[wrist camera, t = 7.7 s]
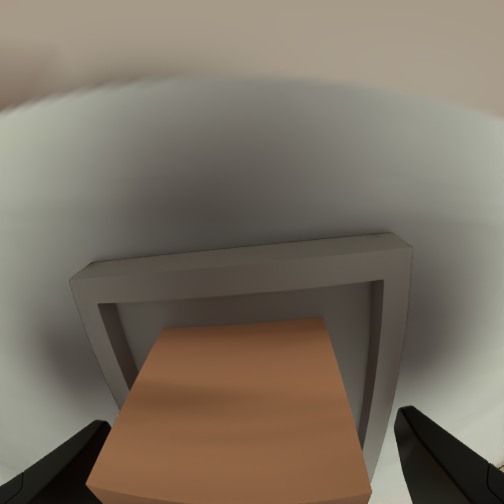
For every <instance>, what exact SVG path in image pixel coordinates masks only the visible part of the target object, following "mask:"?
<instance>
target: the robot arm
mask: <svg viewBox="0 0 504 504" xmlns="http://www.w3.org/2000/svg"><path fill="white" fill-rule="evenodd" d="M111 429H112V428H111V426H110V425H109V423H108V422H107V421H103V420H95V421H93V422H92V423H90V424H89V425H88V426H86V427H85V428H84V429H82V430H81V431H79V432H78V433H77V434H75V435H74V436H73V437H71V438H70V439H68V440H67V441H66V442H64V443H63V444H62V445H60V446H59V447H57V448H56V449H55V450H53V451H52V452H50V453H49V454H48V455H46V456H45V457H43V458H42V459H41V460H39V461H38V462H36V463H35V464H33V465H32V466H31V467H29V468H28V469H26V470H25V471H24V472H22V473H20V474H19V475H17V476H16V477H14V478H13V479H11V480H10V481H8V482H7V483H5V484H3V485H1V486H0V504H103V503H102V502H101V501H100V500H99V499H98V498H97V497H96V496H95V495H94V493H93V492H92V491H91V490H90V489H89V488H88V487H87V486H86V482H87V480H88V478H89V476H90V473H91V471H92V469H93V467H94V465H95V462H96V460H97V458H98V456H99V454H100V452H101V450H102V448H103V445H104V443H105V441H106V439H107V437H108V435H109V433H110V431H111ZM394 433H395V438H396V442H397V447H398V452H399V457H400V462H401V467H402V471H403V475H404V478H405V481H406V484H407V487H408V490H409V494H410V497H411V500H412V503H413V504H504V472H503V471H501V470H500V469H498V468H497V467H495V466H494V465H492V464H491V463H489V462H488V461H487V460H485V459H484V458H483V457H481V456H480V455H478V454H477V453H476V452H474V451H473V450H472V449H470V448H469V447H467V446H466V445H465V444H463V443H462V442H461V441H459V440H458V439H457V438H455V437H454V436H453V435H451V434H450V433H448V432H447V431H446V430H444V429H443V428H442V427H440V426H439V425H438V424H436V423H435V422H434V421H432V420H431V419H430V418H428V417H427V416H426V415H424V414H423V413H422V412H420V411H419V410H418V409H416V408H415V407H414V406H411V405H410V406H405V407H401V408H399V410H398V412H397V416H396V420H395V424H394Z"/></svg>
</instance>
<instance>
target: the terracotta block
mask: <svg viewBox="0 0 504 504" xmlns="http://www.w3.org/2000/svg"><path fill="white" fill-rule="evenodd" d="M86 486H87V487H88V488H89V489H90V490H91V491H92V492H93V493H94V495H95V496H96V497H97V498H98V499H99V500H100V501H101V502H102V503H103V504H368V502H369V499H370V497H371V494H372V490H371V485H370V481H369V477H368V473H367V469H366V465H365V461H364V457H363V453H362V450H361V446H360V442H359V438H358V434H357V431H356V427H355V423H354V420H353V416H352V412H351V409H350V405H349V402H348V398H347V395H346V391H345V388H344V384H343V381H342V377H341V374H340V371H339V367H338V364H337V361H336V357H335V354H334V351H333V347H332V344H331V341H330V338H329V334H328V331H327V328H326V325H325V322H324V318H323V317H318V318H309V319H299V320H289V321H278V322H266V323H253V324H239V325H223V326H205V327H183V328H162V330H161V332H160V334H159V336H158V338H157V340H156V342H155V343H154V345H153V347H152V349H151V351H150V353H149V355H148V357H147V359H146V361H145V363H144V365H143V367H142V368H141V370H140V372H139V374H138V376H137V378H136V380H135V382H134V384H133V386H132V388H131V390H130V392H129V394H128V396H127V398H126V400H125V402H124V404H123V406H122V408H121V410H120V412H119V414H118V416H117V418H116V420H115V422H114V425H113V427H112V429H111V431H110V433H109V435H108V437H107V439H106V441H105V443H104V445H103V448H102V450H101V452H100V454H99V456H98V458H97V460H96V462H95V465H94V467H93V469H92V471H91V473H90V476H89V478H88V480H87V482H86Z"/></svg>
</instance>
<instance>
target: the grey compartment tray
mask: <svg viewBox="0 0 504 504" xmlns="http://www.w3.org/2000/svg"><path fill="white" fill-rule="evenodd" d="M411 267H412V247H411V246H410V245H409V244H407V243H406V242H405V241H403V240H402V239H401V238H399V237H398V236H396V235H395V234H394V233H381V234H370V235H360V236H349V237H339V238H328V239H318V240H308V241H298V242H287V243H277V244H267V245H257V246H247V247H237V248H227V249H217V250H207V251H198V252H188V253H178V254H168V255H159V256H149V257H140V258H130V259H121V260H111V261H102V262H93V263H90V264H89V265H87V266H86V267H85V268H83V269H82V270H81V271H79V272H78V273H77V274H76V275H74V276H73V277H72V278H70V279H69V283H70V286H71V290H72V293H73V296H74V299H75V302H76V305H77V308H78V311H79V314H80V317H81V320H82V323H83V325H84V328H85V331H86V334H87V336H88V339H89V341H90V344H91V347H92V349H93V352H94V354H95V357H96V359H97V361H98V364H99V366H100V368H101V371H102V373H103V375H104V378H105V380H106V382H107V384H108V386H109V389H110V391H111V393H112V395H113V397H114V399H115V401H116V403H117V405H118V407H119V409H120V410H121V408H122V406H123V404H124V402H125V400H126V398H127V396H128V394H129V392H130V390H131V388H132V386H133V384H134V382H135V380H136V378H137V376H138V374H139V372H140V370H141V368H142V367H143V365H144V363H145V361H146V359H147V357H148V355H149V353H150V351H151V349H152V347H153V345H154V343H155V342H156V340H157V338H158V336H159V334H160V332H161V330H162V328H183V327H205V326H223V325H239V324H253V323H266V322H278V321H289V320H299V319H309V318H318V317H323V318H324V322H325V325H326V328H327V331H328V334H329V338H330V341H331V344H332V347H333V351H334V354H335V357H336V361H337V364H338V367H339V371H340V374H341V377H342V381H343V384H344V388H345V391H346V395H347V398H348V402H349V405H350V409H351V412H352V416H353V420H354V423H355V427H356V431H357V434H358V438H359V442H360V446H361V450H362V453H363V457H364V461H365V465H366V469H367V473H368V477H369V481H370V484H371V481H372V478H373V475H374V471H375V468H376V465H377V462H378V458H379V455H380V451H381V448H382V444H383V441H384V437H385V433H386V429H387V425H388V421H389V417H390V413H391V408H392V404H393V399H394V395H395V390H396V385H397V380H398V374H399V369H400V363H401V357H402V351H403V344H404V337H405V330H406V322H407V313H408V304H409V294H410V282H411Z"/></svg>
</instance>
